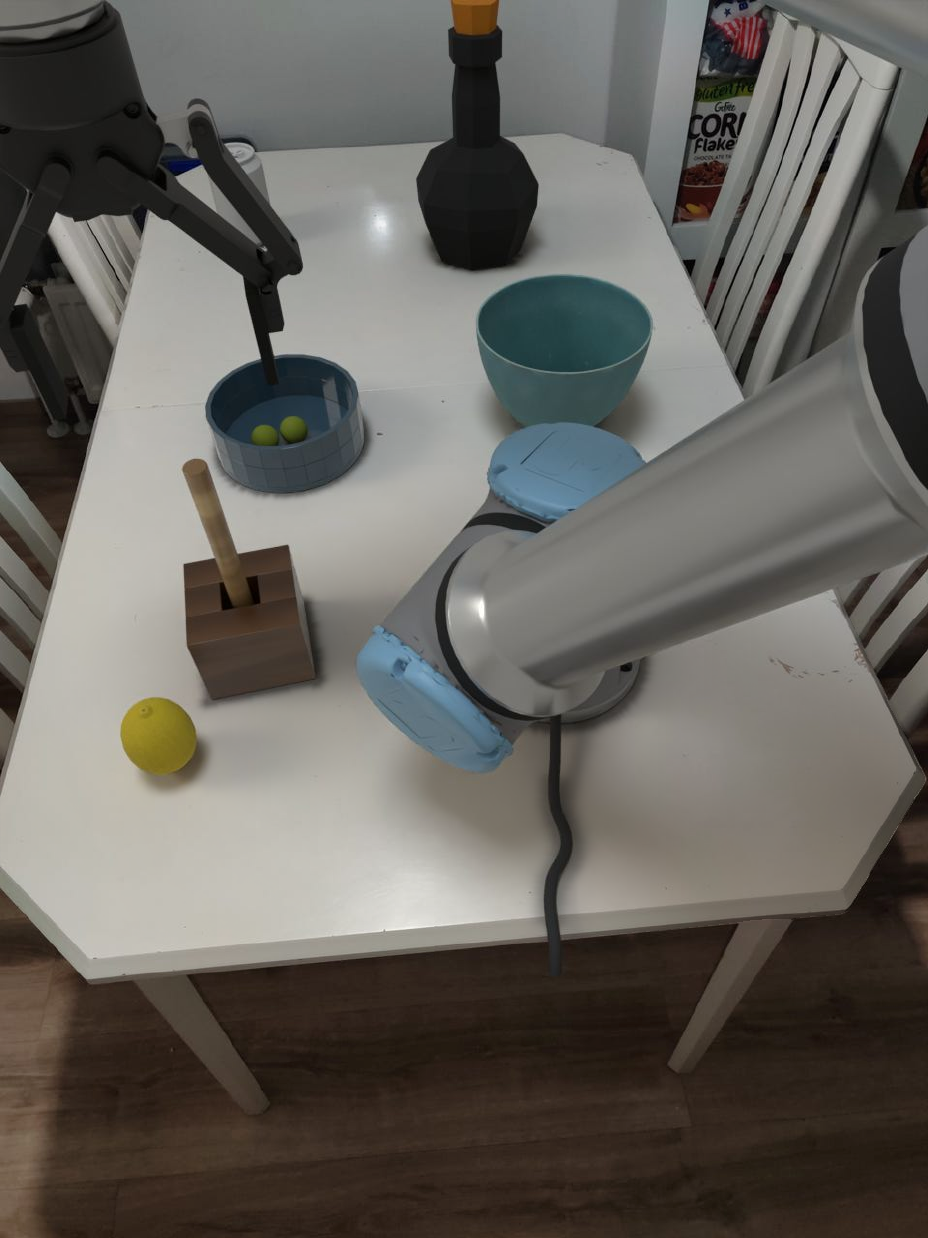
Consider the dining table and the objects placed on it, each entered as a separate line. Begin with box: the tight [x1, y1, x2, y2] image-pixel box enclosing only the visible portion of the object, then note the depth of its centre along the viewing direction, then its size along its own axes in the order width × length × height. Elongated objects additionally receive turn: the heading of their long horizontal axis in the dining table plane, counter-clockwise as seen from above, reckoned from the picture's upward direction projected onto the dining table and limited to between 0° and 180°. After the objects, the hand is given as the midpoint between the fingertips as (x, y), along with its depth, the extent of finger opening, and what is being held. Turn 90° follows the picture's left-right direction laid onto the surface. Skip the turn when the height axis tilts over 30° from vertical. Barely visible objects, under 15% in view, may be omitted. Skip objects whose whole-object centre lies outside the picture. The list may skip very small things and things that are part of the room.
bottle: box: [415, 0, 540, 272], centre depth 110 cm, size 16×16×30 cm
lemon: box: [119, 696, 198, 776], centre depth 69 cm, size 6×6×8 cm
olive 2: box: [280, 416, 308, 444], centre depth 95 cm, size 3×3×3 cm
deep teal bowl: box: [475, 273, 654, 428], centre depth 94 cm, size 18×18×12 cm
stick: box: [181, 458, 255, 608], centre depth 71 cm, size 2×2×22 cm
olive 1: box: [251, 425, 279, 446], centre depth 94 cm, size 3×3×3 cm
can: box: [207, 142, 271, 247], centre depth 121 cm, size 8×8×12 cm
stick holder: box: [182, 544, 316, 700], centre depth 76 cm, size 9×9×8 cm
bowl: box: [204, 353, 365, 494], centre depth 95 cm, size 16×16×6 cm
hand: (168, 390), depth 57 cm, fingers open, 13 cm apart
